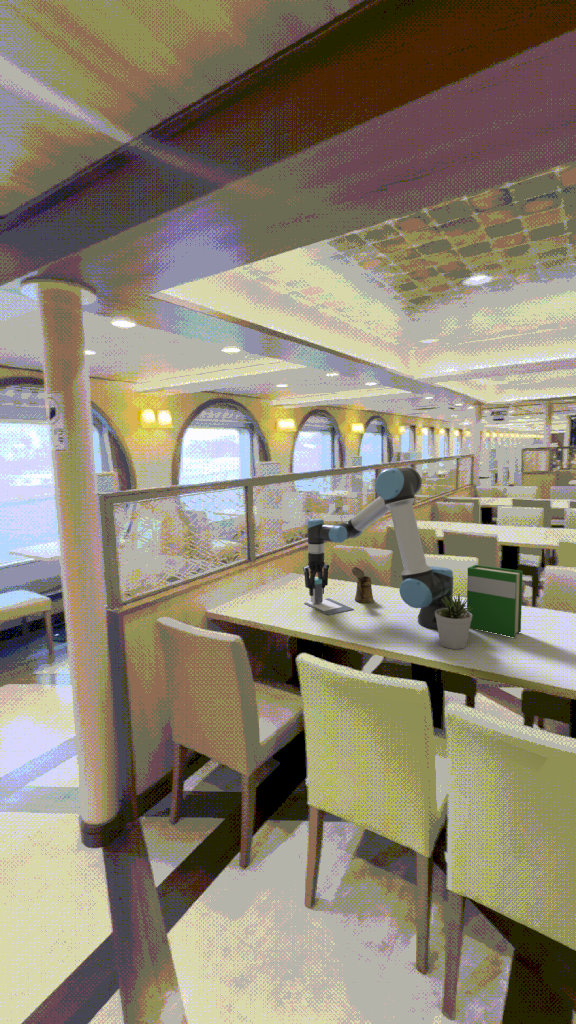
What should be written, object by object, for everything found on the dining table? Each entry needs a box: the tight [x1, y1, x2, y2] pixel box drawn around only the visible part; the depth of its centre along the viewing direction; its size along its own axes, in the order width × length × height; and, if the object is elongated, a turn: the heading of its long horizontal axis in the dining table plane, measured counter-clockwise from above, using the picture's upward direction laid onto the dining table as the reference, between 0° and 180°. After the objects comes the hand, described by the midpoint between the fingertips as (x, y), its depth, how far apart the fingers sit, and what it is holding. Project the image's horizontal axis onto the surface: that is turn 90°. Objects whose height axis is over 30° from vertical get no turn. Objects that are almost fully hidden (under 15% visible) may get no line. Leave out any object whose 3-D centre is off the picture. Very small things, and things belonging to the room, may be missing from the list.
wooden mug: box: [351, 566, 374, 604], centre depth 215 cm, size 9×14×18 cm, turn 145°
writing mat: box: [303, 597, 355, 616], centre depth 209 cm, size 20×14×1 cm
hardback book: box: [466, 564, 523, 638], centre depth 174 cm, size 18×7×24 cm, turn 46°
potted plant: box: [435, 594, 473, 650], centre depth 161 cm, size 13×14×20 cm
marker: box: [313, 577, 322, 604], centre depth 211 cm, size 4×4×11 cm
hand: (316, 601), depth 212 cm, fingers closed on marker, 3 cm apart
